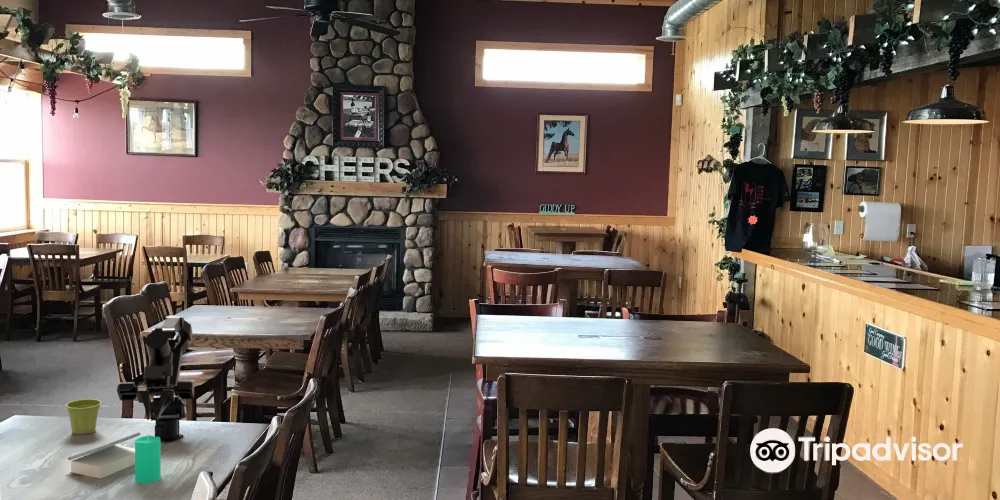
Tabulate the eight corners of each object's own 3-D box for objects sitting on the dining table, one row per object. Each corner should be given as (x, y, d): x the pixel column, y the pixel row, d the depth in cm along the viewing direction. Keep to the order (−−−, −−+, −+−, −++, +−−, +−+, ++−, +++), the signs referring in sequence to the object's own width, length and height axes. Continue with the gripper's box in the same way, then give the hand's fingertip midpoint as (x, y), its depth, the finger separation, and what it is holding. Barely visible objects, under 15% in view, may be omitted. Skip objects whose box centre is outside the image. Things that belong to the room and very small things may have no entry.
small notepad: (114, 455, 213) (114, 444, 213) (142, 461, 210) (142, 450, 210) (71, 472, 200) (71, 461, 200) (100, 478, 197) (100, 467, 197)
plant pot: (108, 429, 234) (108, 401, 234) (82, 438, 226) (82, 409, 225) (85, 425, 237) (84, 397, 237) (58, 433, 229) (58, 405, 228)
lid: (112, 444, 213) (111, 441, 213) (140, 435, 210) (139, 432, 210) (68, 460, 200) (67, 457, 200) (97, 451, 196) (96, 448, 196)
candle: (150, 484, 194) (150, 438, 193) (129, 481, 196) (129, 435, 195) (165, 475, 200) (165, 431, 199) (145, 473, 201) (145, 428, 200)
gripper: (118, 353, 205) (108, 405, 196) (192, 352, 210) (186, 403, 200) (125, 374, 214) (115, 425, 204) (196, 372, 218) (191, 423, 209)
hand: (152, 419), depth 204 cm, fingers closed
